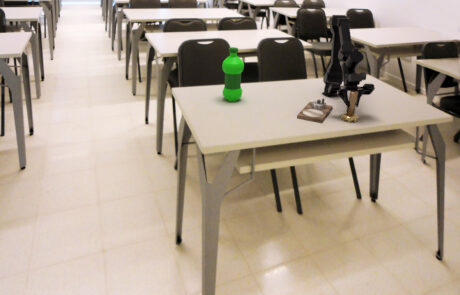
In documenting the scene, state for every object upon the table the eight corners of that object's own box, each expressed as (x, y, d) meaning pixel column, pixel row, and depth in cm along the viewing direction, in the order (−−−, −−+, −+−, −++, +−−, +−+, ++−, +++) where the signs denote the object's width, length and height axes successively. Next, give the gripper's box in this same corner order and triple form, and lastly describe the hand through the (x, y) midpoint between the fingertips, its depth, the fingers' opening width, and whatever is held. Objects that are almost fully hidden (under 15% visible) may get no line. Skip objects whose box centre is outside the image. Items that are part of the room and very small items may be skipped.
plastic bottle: (245, 102, 180) (247, 50, 169) (223, 103, 178) (224, 51, 167) (240, 95, 189) (242, 45, 178) (219, 96, 187) (220, 46, 176)
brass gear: (349, 115, 168) (354, 87, 162) (360, 121, 162) (366, 92, 156) (337, 118, 165) (342, 90, 159) (349, 123, 159) (354, 94, 153)
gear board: (309, 104, 179) (310, 92, 177) (332, 108, 175) (334, 96, 172) (297, 118, 164) (298, 105, 161) (321, 123, 160) (323, 109, 157)
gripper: (333, 64, 156) (336, 98, 151) (377, 65, 157) (382, 99, 152) (326, 77, 167) (329, 109, 162) (367, 78, 167) (371, 110, 162)
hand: (352, 106), depth 159 cm, fingers open, 4 cm apart
